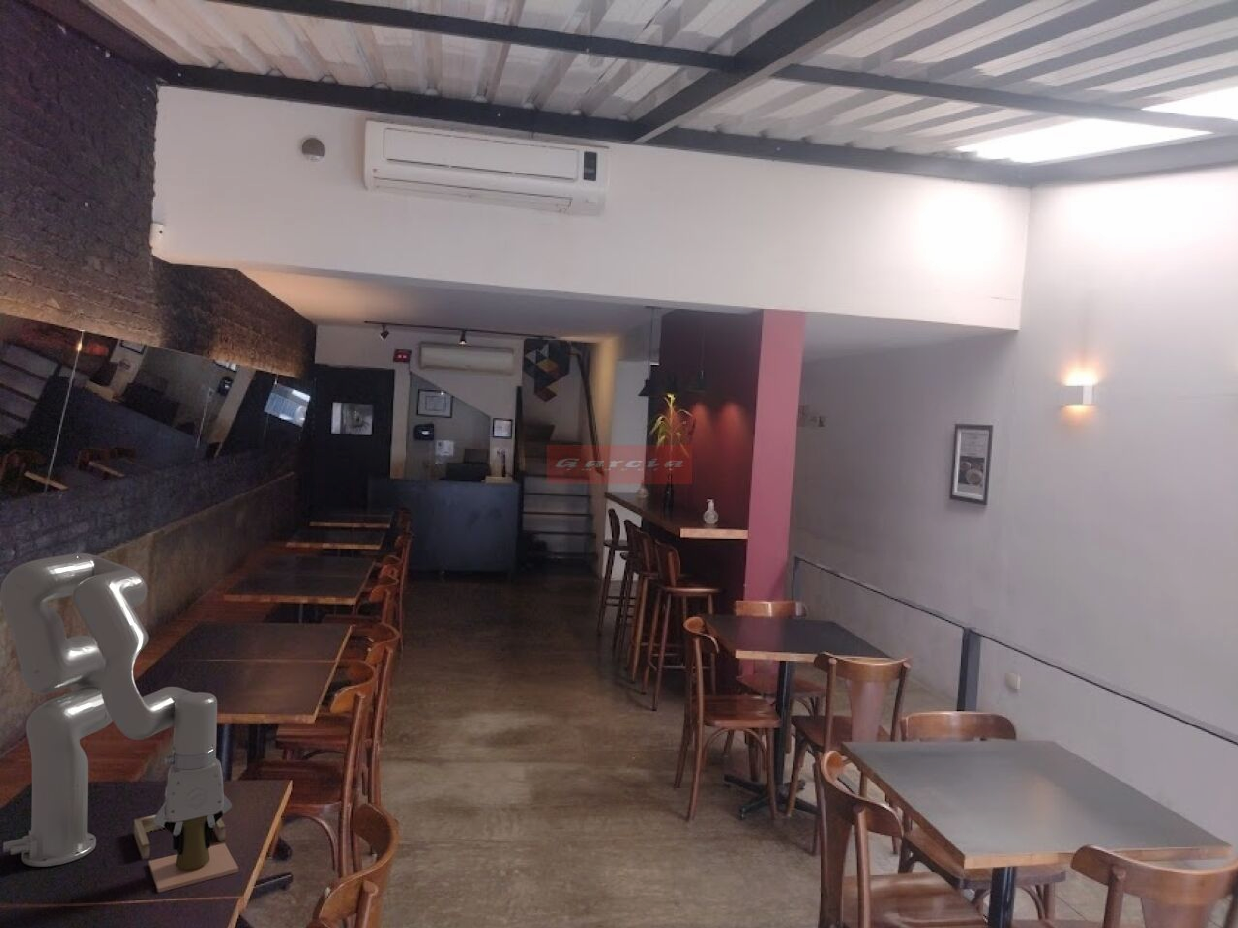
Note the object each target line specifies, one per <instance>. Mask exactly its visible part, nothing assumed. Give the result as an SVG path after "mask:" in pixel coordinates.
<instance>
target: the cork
mask: <svg viewBox="0 0 1238 928" xmlns="http://www.w3.org/2000/svg"><path fill="white" fill-rule="evenodd" d="M206 821H207V816H204V817H199V818H194V819H190V820H186V821H182V823H183V824H182V828H181V830H182V833H183V853H182V854H181V855H178V852H177V853H176V854H177V859H176V867H177V868H179V869H182V870H190V869H196V868H199V867H202V866H204V865H205V864H207V863H208V862H209V860H210V857H209V850H208V848H207V847H206V836H205V828H206V827H205V822H206Z"/></svg>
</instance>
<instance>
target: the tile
mask: <svg viewBox="0 0 1238 928" xmlns="http://www.w3.org/2000/svg"><path fill="white" fill-rule="evenodd" d="M208 850H209V857H210V860H209V862H208V863H207V864H205V865H204V866H202V867H199V868H196V869H190V870H182V869H179V868H177V867H176V859H177V853H176V854H173V855H169V856H165V857H161V858H156V859H153V860H148V868H149V870H150V874H151V877H152V878H153V879H152V880H153V882H154V886H155V888H156V891H157V893H158V894H159V893H163V892H167V891H171V890H175V889H178V888H182V887H186V886H191V885H194V884H198V883H202V882H204V881H209V880H213V879H216V878H217V879H218V878H220V877H225V876H228V875H231V874H236V873H238V872H239V867H238V865H237V863H236V862H235V859H234V858H233V856H232V854H231V852H230V849H229V848H228V847H227V845H226V842H223V843H219V844H215V845H210V846H209V848H208Z"/></svg>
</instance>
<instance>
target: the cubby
mask: <svg viewBox="0 0 1238 928" xmlns="http://www.w3.org/2000/svg"><path fill="white" fill-rule="evenodd" d="M155 816H156V814H152V815H148V816H143V817H142V816H141V817H138V818H134V819H133V835H134V838H135V841H136V844H137V847H138V851H139V853H140V857H141V860H142V861H143V860H146V859H150V841H149V838H148V835H147V833H151V832H150V831H152V832H155V831H154V830H156V831H160V830H159V829H161V830H164V829H163V828H165V827H161V826H159V825H156V824H154V821H153V819H154V817H155ZM164 818H165V819H167V817H166V816H165V817H164ZM165 829H166V828H165ZM213 834H214V835H215V837H216V838H217V840H218V842H222V841H225V840H226V824H225V823H224V821H223V819H222V817H221V818H220V819H219V820H218V821H217V822H216V823H215V826H214V827H213Z"/></svg>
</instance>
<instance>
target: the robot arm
mask: <svg viewBox="0 0 1238 928" xmlns="http://www.w3.org/2000/svg"><path fill="white" fill-rule="evenodd" d="M147 586H148V585H147V583H146V581H145V580H144V578H143V577H142V576H141V575H140V573H138V572H136V571H135V570H134V569H132V568H129V567H127V566H126V565H125V566H124V565H122V564H119V563H116V562H113V561H111V560H108V559H106V558H103V557H100V556H99V555H98V556H97V555H94V554H92V553H88V552H75V553H67V554H64V555H57V556H49V557H44V558H39V559H34V560H30V561H28V562H25V563H22V564H20V565H17V566H16V567H15V568H13V569H12V570H11V571H10V572H9V573H7V575H6V576H5V578H4V579H3V581H2V583H1V587H0V605H1V609H2V612H3V614H4V617H5V618H6V621H7V623H8V626H9V627H10V630H11V633H12V636H13V642H14V647H15V649H16V655H17V659H18V663H19V667H20V671H21V674H22V678H23V682H24V683H25V686H26V688H27V689H28V690H29V691H30V692H31V693H33V694H37V695H45V694H51V693H54V692H57V691H60V690H63V689H66V688H68V687H70V690H71V692H69V693H65V694H62V695H60V696H57V697H55V698H53V699H49V700H48V701H46V702H44V703H42V704H40V705H39V706H37V708H35V709H33V711H32V712H31V713H30V715H29V716H28V718H27V721H26V726H25V730H26V737H27V741H28V742H27V743H28V746H29V751H30V757H31V759H30V761H31V817H30V818H31V823H30V825H31V826H30V830H28V835H25V836H22V838H20V839H15V840H14V839H12V840H9V841H7V840H6V841H4V842H2V843H3V844H2V845H3V847H2V850H3V853H8V852H10V855H11V856H12V855H16V854H19V853H21V861H22V863H23V864H25V865H27V866H30V867H37V868H40V867H42V868H43V867H46V868H47V867H54V866H60V865H64V864H67V863H72V862H73V861H77V860H78V859H81V858H83V857H85V856H86V855H88V854H90V853H91V852H92V851H93V850H94V849H95V847H96V846H97V839H96V836H95V835H93V834H91V833H89V832H88V813H89V812H88V807H89V806H88V805H89V803H88V802H89V801H88V800H89V798H88V797H89V790H88V789H89V761H88V755H87V754H86V752H85V750H84V749H83V748H82V746H81V743H80V742H81V741H80V740H81V739H83V738H85V737H87V736H89V735H91V734H93V733H96V732H98V731H101V730H102V729H103V728H105V727H107V726H109V725H110V724H111V723H112V722H113V723H114V725H115V726H116V728H117V729H118V730H119V731H120V732H121V734H122V735H124V736H125V737H127V738H128V739H130V740H136V741H138V740H139V741H140V740H145V739H148V738H150V737H152V736H154V735H155V734H157V733H159V732H162V731H164V730H166V729H169V728H171V727H173V750H172V753H171V754H169V755H168V756H165V757H164V763H165V764H166V765H167V764H170V766H169V769H168V774H167V776H166V783H165V791H164V803H162V806H161V807H160V808H159V810H158V811H157V813H156V814H155V815H156V816H155V817H154V819H153V821H154V824H156V825H159V826H161V827H165V829H166V830H167V831H168V832H170V833H172V848H173V850H176V851H177V853H178V855H181V854H182V853H183V833H182V830H181V828H182V824H183V823H182V821H186V820H190V819H194V818H199V817H204V816H207V821H206V822H205V827H206V828H205V836H206V847H207V848H209V847H210V846H211V845H210V842H213V838H214V837H213V835H214V831H213V827H214V826H215V823H216V822H217V821H218V820H219V819H220V818H221V819H222V817H223V815H224V814H225V813H227V812H228V811H229V810H230V809H232V808H233V804H232V802H231V801H230V799H229V798H228V797H227V796H226V795H225V794H224V778H223V769H222V764H221V761H220V760H219V759H218V758H217V722H218V721H217V719H218V700H217V697H216V696H215V695H214V694H212V693H210V692H209V693H208V692H203V691H199V692H194V691H190V690H187V689H184V688H181V687H176V686H168V687H167V686H166V687H163V688H161V689H159V690H156V691H154V692H152V693H149V694H147V695H144V696H142V695H141V693H140V691H139V689H138V688H137V685H136V682H135V679H134V666H135V663H136V660H137V658H138V656H139V654H140V653H141V651H142V650H143V649H144V648H145V646H146V645H147V644H148V642H149V640H150V639H149V633H148V632H147V631H146V629H145V627H144V625H143V623H142V622H141V619H140V618H139V616H138V614H137V613H136V611H135V608H137V607H139V606H141V605H142V604H143V603H144V602H145V601H146V598H147V595H148V587H147ZM70 596H72V600H73V604H74V606H75V608H76V610H77V612H78V614H79V615H80V617H81V619H82V621H83V623H84V625H85V627H86V629H87V630H88V632H89V634H90V635H91V637H90V636H87V635H86V636H85V635H77V636H73V637H69V638H67V634H66V631H65V627H64V626H65V625H64V622H63V620H62V617H61V616H60V615H59V613H58V612H57V611H56V610H55V609H54V608H53V607H52V606H51V605H49V604H48V603H49V602H50V601H52V600H55V599H56V600H57V599H62V598H65V597H70ZM165 816H166V817H167V819H165V818H164V817H165Z"/></svg>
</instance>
